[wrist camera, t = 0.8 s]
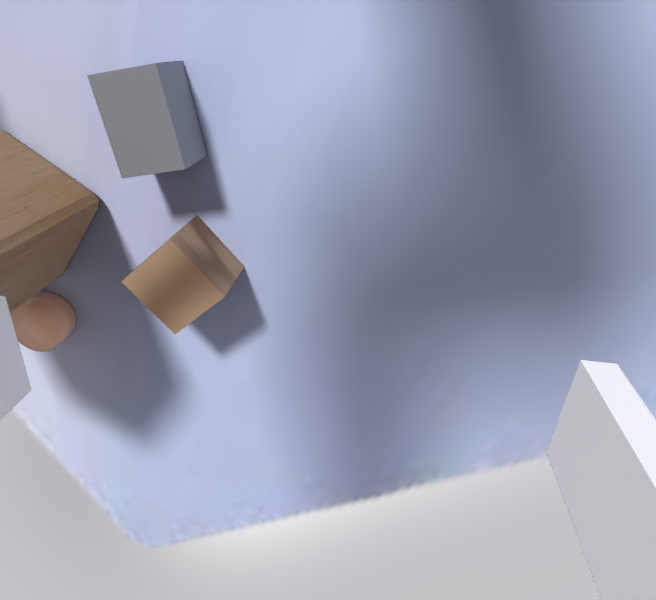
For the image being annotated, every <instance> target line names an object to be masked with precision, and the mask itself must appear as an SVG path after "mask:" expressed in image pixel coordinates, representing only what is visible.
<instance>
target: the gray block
mask: <svg viewBox="0 0 656 600" xmlns="http://www.w3.org/2000/svg"><path fill="white" fill-rule="evenodd" d="M87 76H88V79H89V82H90V85H91V88H92V91H93V94H94V97H95V100H96V103H97V106H98V108H99V111H100V114H101V117H102V120H103V123H104V126H105V129H106V132H107V135H108V138H109V141H110V144H111V147H112V150H113V153H114V156H115V159H116V162H117V165H118V167H119V170H120V173H121V176H122V178H127V177H134V176H142V175H149V174H156V173H163V172H170V171H177V170H185V169H187V168H188V167H190V166H192V165H193V164H195V163H196V162H198V161H199V160H201V159H203V158H204V157H206V156H207V153H206V149H205V145H204V141H203V137H202V133H201V129H200V125H199V121H198V118H197V114H196V110H195V106H194V102H193V98H192V94H191V90H190V86H189V83H188V79H187V75H186V71H185V67H184V63H183V61H173V62H163V63H154V64H149V65H143V66H138V67H132V68H126V69H121V70H115V71H110V72H104V73H99V74H93V75H87Z"/></svg>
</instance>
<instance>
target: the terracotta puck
mask: <svg viewBox="0 0 656 600" xmlns="http://www.w3.org/2000/svg"><path fill="white" fill-rule="evenodd" d="M10 315H11V319H12V322H13V326H14V329H15V333H16V336H17V340H18V342H20V343H21V344H22V345H24V346H25V347H27V348H29V349H32V350H35V351H42V352H43V351H49V350H52V349H53V348H55V347H56V346H57V345H58V344H59V343H60V342H61V341H62V340H63V339H65V338H66V337H67V336H68V335H69V334H70V333H71V332H72V331H73V330H74V329H75V327H76V323H77V319H76V314H75V312H74V310H73V308H72V306H71V305H70V304H69V303H68V302H67V301H66V300H65V299H64V298H62V297H61V296H59V295H57V294H54V293H51V292H44V291H43V292H38V293H37V294H35V295H34V296H33V297H31V298H30V299H28V300H27V301H26V302H24V303H23V304H21V305H20V306H19V307H17V308H16V309H15V310H13V311H12V312H10Z"/></svg>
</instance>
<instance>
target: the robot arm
mask: <svg viewBox="0 0 656 600" xmlns="http://www.w3.org/2000/svg"><path fill="white" fill-rule="evenodd" d="M30 391H31V386H30V383H29V379H28V376H27V372H26V368H25V365H24V361H23V358H22V354H21V351H20V347H19V344H18V340H17V336H16V333H15V329H14V326H13V322H12V319H11V315H10V312H9V308H8V305H7V301H6V297H5V296H0V420H2V419H3V418H4V417H5V416H6V414H8V413H9V412H10V411H11V410H12V409H13V408H14V407H15V406H16V405H17V404H18V403H19V402H20V401H21V400H22V399H23V398H24V397H25V396H26V395H27V394H28V393H29V392H30ZM546 454H547V456H548V459H549V462H550V464H551V467H552V470H553V472H554V475H555V478H556V480H557V483H558V485H559V488H560V491H561V494H562V496H563V499H564V502H565V504H566V507H567V510H568V512H569V515H570V517H571V520H572V523H573V526H574V528H575V531H576V534H577V536H578V539H579V542H580V545H581V547H582V550H583V553H584V555H585V558H586V561H587V563H588V566H589V569H590V571H591V574H592V577H593V579H594V582H595V585H596V587H597V590H598V593H599V595H600V598H601V600H656V420H655V418H654V417H653V415H652V414H651V412H650V411H649V410H648V408H647V407H646V405H645V404H644V402H643V401H642V399H641V398H640V396H639V395H638V394H637V392H636V391H635V389H634V388H633V386H632V385H631V383H630V382H629V380H628V379H627V378H626V376H625V375H624V373H623V372H622V370H621V369H620V367H619V366H618V365H617V364H613V363H604V362H595V361H586V360H580V363H579V366H578V368H577V371H576V374H575V376H574V379H573V382H572V385H571V387H570V390H569V393H568V395H567V398H566V401H565V404H564V406H563V409H562V412H561V414H560V417H559V420H558V423H557V425H556V428H555V431H554V433H553V436H552V439H551V442H550V444H549V447H548V450H547V452H546Z"/></svg>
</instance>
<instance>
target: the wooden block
mask: <svg viewBox="0 0 656 600" xmlns="http://www.w3.org/2000/svg"><path fill="white" fill-rule="evenodd" d="M98 206H99V198H98V197H97V196H96V194H95V193H93V192H92V191H91V190H89V189H88V188H86V187H85V186H83V185H82V184H81V183H79V182H78V181H76V180H75V179H73V178H72V177H71V176H69V175H68V174H66V173H65V172H63V171H62V170H60V169H59V168H58V167H56V166H55V165H53V164H52V163H50V162H49V161H48V160H46V159H45V158H43V157H42V156H40V155H39V154H38V153H36V152H35V151H33V150H32V149H30V148H29V147H28V146H26V145H25V144H23V143H22V142H20V141H19V140H18V139H16V138H15V137H13V136H12V135H10V134H9V133H7V132H4V131H1V130H0V296H5V297H6V301H7V305H8V308H9V312H12V311H13V310H15V309H16V308H17V307H19V306H20V305H21V304H23V303H24V302H26V301H27V300H28V299H30V298H31V297H33V296H34V295H35V294H37V293H38V292H40V291H41V290H42V289H44V288H45V287H47V286H48V285H49V284H51V283H52V282H54V281H55V280H56V279H58V278H59V277H60V276H62V275H63V273H64V271H65V270H66V268H67V266H68V264H69V262H70V260H71V258H72V257H73V255H74V253H75V251H76V249H77V247H78V245H79V243H80V242H81V240H82V238H83V236H84V234H85V232H86V230H87V228H88V227H89V225H90V223H91V221H92V219H93V217H94V215H95V213H96V212H97V210H98Z"/></svg>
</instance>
